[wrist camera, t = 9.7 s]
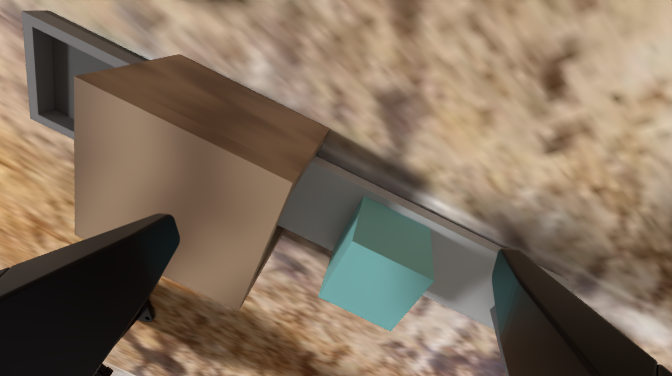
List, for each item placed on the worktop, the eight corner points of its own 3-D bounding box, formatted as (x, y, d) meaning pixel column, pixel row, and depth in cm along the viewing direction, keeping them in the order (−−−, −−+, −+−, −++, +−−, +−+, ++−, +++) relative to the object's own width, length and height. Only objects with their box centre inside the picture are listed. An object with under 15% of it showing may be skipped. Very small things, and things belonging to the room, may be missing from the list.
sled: (262, 207, 24) (215, 271, 18) (287, 141, 21) (241, 192, 15) (509, 327, 24) (539, 424, 19) (566, 279, 22) (621, 376, 16)
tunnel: (159, 177, 25) (75, 234, 19) (179, 54, 20) (73, 76, 14) (281, 235, 25) (238, 311, 19) (329, 128, 20) (292, 183, 14)
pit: (52, 112, 24) (30, 118, 22) (48, 10, 20) (21, 10, 19) (142, 155, 24) (125, 164, 23) (153, 62, 21) (134, 66, 19)
